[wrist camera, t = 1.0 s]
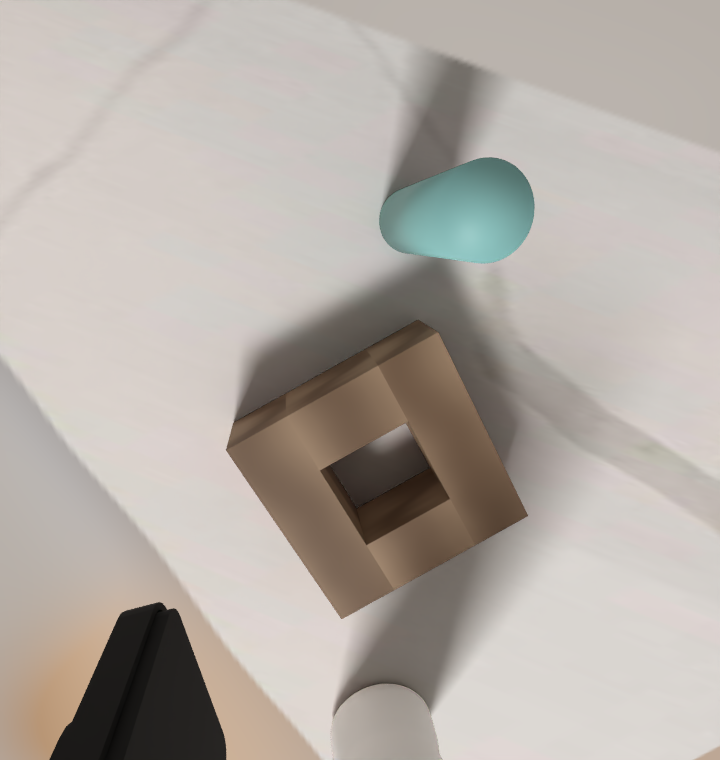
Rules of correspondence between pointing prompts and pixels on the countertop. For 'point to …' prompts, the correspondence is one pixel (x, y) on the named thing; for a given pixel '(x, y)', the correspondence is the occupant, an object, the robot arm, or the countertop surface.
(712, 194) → the countertop surface
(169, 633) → the robot arm
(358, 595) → the socket block
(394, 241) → the dowel
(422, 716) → the water bottle
